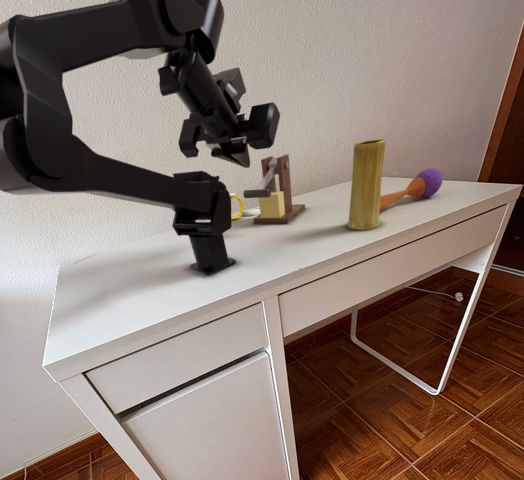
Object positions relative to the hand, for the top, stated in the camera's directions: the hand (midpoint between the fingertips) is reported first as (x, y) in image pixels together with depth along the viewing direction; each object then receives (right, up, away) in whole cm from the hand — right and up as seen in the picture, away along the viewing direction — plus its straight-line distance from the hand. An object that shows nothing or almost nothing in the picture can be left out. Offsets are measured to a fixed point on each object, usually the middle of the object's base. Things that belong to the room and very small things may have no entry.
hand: (248, 165), depth 58 cm
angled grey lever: (+4, +1, +8) cm, 9 cm away
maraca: (+36, -3, +10) cm, 37 cm away
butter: (+5, -4, +13) cm, 15 cm away
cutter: (+7, -3, +16) cm, 18 cm away
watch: (-5, -2, +20) cm, 21 cm away
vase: (+24, -11, +2) cm, 26 cm away
